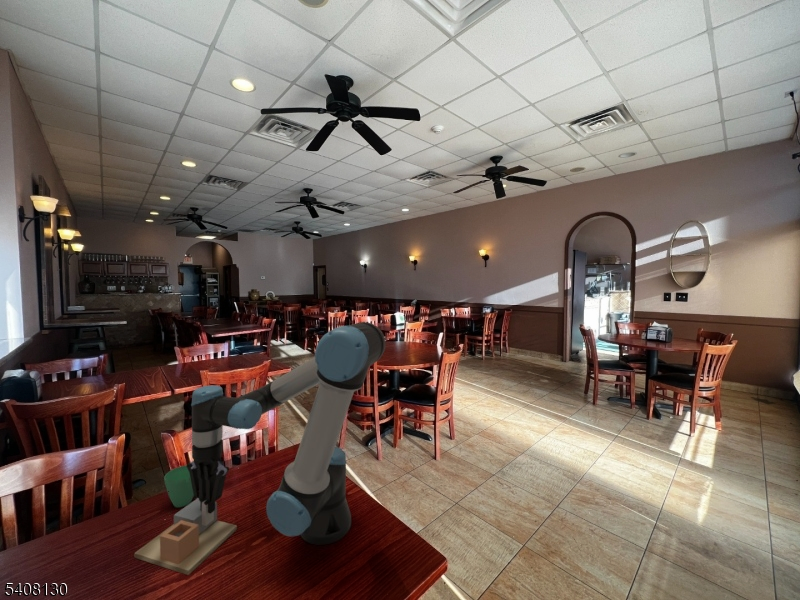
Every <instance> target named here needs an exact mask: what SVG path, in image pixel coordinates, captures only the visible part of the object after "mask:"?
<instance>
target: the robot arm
mask: <svg viewBox="0 0 800 600" xmlns="http://www.w3.org/2000/svg"><path fill="white" fill-rule="evenodd" d="M385 350H386V339H385V335H384V333H383V331H382V330H381V328H379V327H378V326H376V325H375V324H374V323H371V322H366V321H362V322H361V321H360V322H356V323H353V324H350V325H341V326H337V327H335V328H333V329H331V330H330V331H328V332H326V333H325V334H324V335H323V336H322V337H321V338H320V339H319V341H318V343H317V344H316V347H315V351H314V352H315V353H314V357H313V358H311V359H308V360H307V361H306V362H304V363H302V364H300V365H298V366H297V367H295V368H294V369H291V370H290V371H288V372H286V373H284V374H283V375H281V376H279V377H278V378H276V379H274V380H272V381H271V382H269V383H267V384H265V385H264V386H261V387H259V388H256V389H255V390H252V391H250V392H247V393H244V394H243V395H240V396H238V397H232V396H227V395H224V392H223V387H221V386H220V385H217V384H216V385H215V384H213V385H212V384H211V385H204V386H201V387H198V388H195V390H194V391H192V395H191V396H192V397H191V404H190V406H191V444H192V445H191V446H192V447H191V458H192V459H193V460H192V461H191V462H188V463H187V464H186V465H187V469H188V471H189V473H190V478H191V484H192V489H193V494H194V496H193V498H195V499H197V498H199V501H200V510H201V511H202V525H204V526H207V525H208V524H209V523H210V522H211V521H213V520H214V510H215V502H218V500H219V499H221V498H222V496H223V491H224V488H225V487H224V486H225V481H226V478H227V474H228V473H229V471H230V467H228V466H224V465H222V464H223V461H222V458H221V457H222V454H223V449H224V443H223V436H224V435H223V431H224V430H223V426H224V427H228V428H231V429H232V428H233V429H236V430H237V429H238V430H250V429H253V428H254V427H256V426H257V423H259V421H260V420H261V418H262V415H264V414H266V413H267V412H269V411H272V410H274V409H277V408H278V407H279V406H281V405H283V404H284V403H286V402H288V401H290V400H292V399H294V398H296V397H298V396H299V395H301V394H302V393H305V392H307V391H308V390H310V389H313V388H314V387H316V386H318V389H317V391H316V394H315V397H314V400H313V404H312V407H311V409H310V413H309V416H308V419H307V422H306V424H305V428H304V430H303V434H302V437H301V440H300V443H299V446H298V449H297V452H296V456H295V457H294V458H295V459H294V461H291V463H289V464H288V465H287V466H286V468H285V470H284V473H283V476H282V479H281V481H280V482H281V483H280V485H279V487H278V489H277V490H276V491H274V492H272V494H271V495H270V497H268V499H267V502H266V506H265V507H266V508H265V509H266V511H265V512H266V515H267V516H266V517H267V519H268V520H269V521H270V524H271V525H272V527H273V528H274V529H275V530H276V531H278V533H279V534H281V535H284V536H287V537H292V538H293V537H297V536H300V538H302V540H303V541H305V542H307V543H308V544H311V545H315V546H316V545H317V546H322V545H323V546H325V545H330V544H333V543H335V542H338V541H340V540H342V539H343V538H344V537H345V536H346V535H347V534H348V532H349V531H350V530H351V526H352V514H351V511H350V507H349V504H348V502H347V498H346V484H347V483H346V480H347V479H346V477H347V476H346V475H347V474H346V473H347V459H346V457H347V456H346V452H345V451H344V450H343V449H342V448H340V447H339V446H337V443H338V439H339V437H340V433H341V431H342V428H343V425H344V423H345V419H346V416H347V413H348V411H349V407H350V405H351V402H352V399H353V395H354V394H355V392H356V391H359V390H361V389H362V388H363V386H364V382H365V379H366V377H367V374H368V371H369V369H370V367H371V366H372V365H374V364H375V363H377V362H378V361H379V360H380V359H381V357H382V356H383V354H384V352H385Z"/></svg>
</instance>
